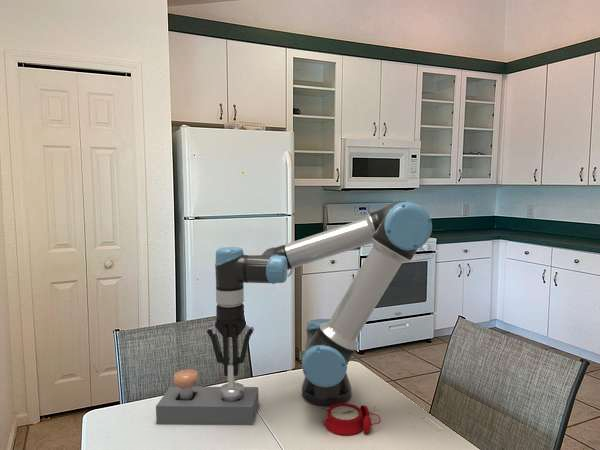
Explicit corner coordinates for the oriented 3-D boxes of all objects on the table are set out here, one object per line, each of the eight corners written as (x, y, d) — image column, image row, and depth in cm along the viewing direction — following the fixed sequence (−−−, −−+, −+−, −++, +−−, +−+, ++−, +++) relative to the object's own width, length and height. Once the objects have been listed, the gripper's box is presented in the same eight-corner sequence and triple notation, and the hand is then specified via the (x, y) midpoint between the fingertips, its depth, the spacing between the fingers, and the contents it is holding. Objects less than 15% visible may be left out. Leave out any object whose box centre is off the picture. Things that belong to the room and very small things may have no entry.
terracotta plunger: (200, 394, 129) (199, 369, 128) (194, 405, 122) (193, 378, 122) (178, 394, 129) (177, 369, 129) (171, 404, 123) (170, 378, 122)
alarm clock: (320, 403, 124) (373, 391, 123) (325, 424, 124) (378, 413, 123) (320, 422, 114) (378, 410, 113) (326, 445, 114) (384, 434, 113)
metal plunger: (245, 407, 129) (245, 382, 128) (242, 418, 122) (241, 392, 122) (223, 407, 129) (223, 382, 128) (218, 418, 123) (218, 392, 122)
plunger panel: (258, 403, 131) (258, 387, 131) (252, 425, 119) (252, 406, 119) (171, 402, 132) (170, 386, 132) (156, 424, 120) (155, 406, 120)
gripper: (255, 300, 127) (256, 381, 128) (209, 300, 127) (211, 380, 129) (251, 307, 119) (253, 393, 121) (203, 307, 120) (205, 392, 122)
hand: (231, 386), depth 125 cm, fingers closed
